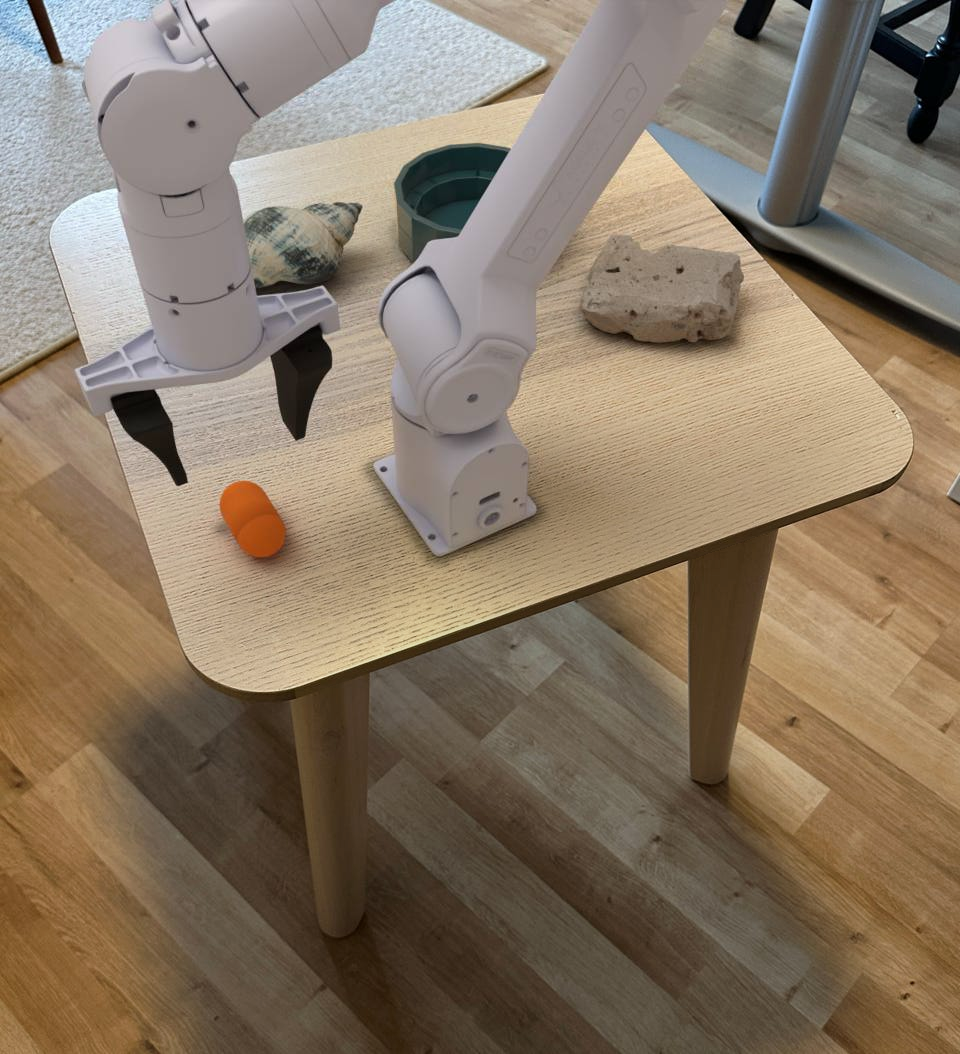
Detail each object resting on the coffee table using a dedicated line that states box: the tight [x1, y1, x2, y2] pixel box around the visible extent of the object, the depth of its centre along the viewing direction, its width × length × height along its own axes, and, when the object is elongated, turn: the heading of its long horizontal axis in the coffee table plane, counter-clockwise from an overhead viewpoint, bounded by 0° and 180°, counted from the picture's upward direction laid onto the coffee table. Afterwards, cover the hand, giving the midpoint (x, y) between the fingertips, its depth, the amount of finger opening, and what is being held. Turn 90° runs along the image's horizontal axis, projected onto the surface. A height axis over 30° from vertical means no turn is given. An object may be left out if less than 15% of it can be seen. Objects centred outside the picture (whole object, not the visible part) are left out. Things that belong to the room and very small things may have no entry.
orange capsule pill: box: [219, 480, 287, 558], centre depth 71 cm, size 6×3×3 cm, turn 30°
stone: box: [578, 233, 745, 343], centre depth 86 cm, size 13×6×10 cm
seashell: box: [243, 201, 364, 288], centre depth 88 cm, size 6×8×12 cm
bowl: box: [393, 142, 512, 264], centre depth 92 cm, size 13×13×5 cm
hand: (236, 451), depth 66 cm, fingers open, 7 cm apart
